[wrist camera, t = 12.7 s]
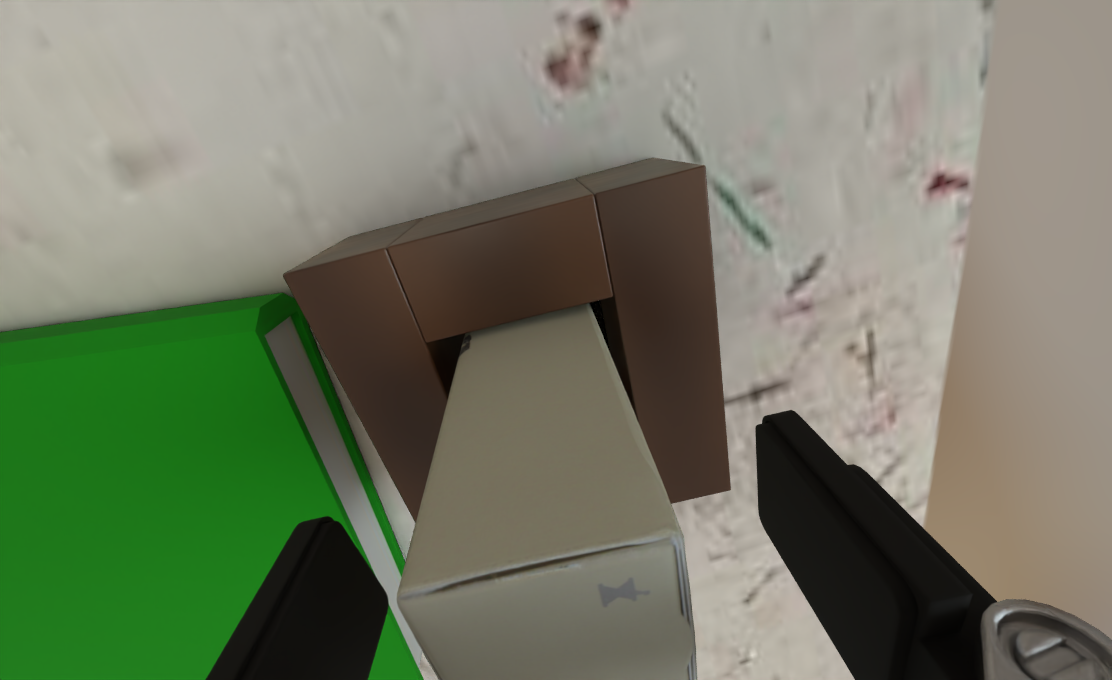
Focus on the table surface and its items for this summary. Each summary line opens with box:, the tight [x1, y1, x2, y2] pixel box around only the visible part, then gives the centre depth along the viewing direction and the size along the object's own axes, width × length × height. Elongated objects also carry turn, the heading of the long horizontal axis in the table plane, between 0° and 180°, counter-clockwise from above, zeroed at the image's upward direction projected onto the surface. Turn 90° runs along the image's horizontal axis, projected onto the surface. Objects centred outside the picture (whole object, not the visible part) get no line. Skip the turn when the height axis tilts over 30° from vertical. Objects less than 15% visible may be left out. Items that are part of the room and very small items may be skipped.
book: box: [0, 293, 424, 680], centre depth 20 cm, size 22×28×3 cm
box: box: [397, 303, 697, 680], centre depth 13 cm, size 5×4×13 cm
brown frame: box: [283, 158, 731, 523], centre depth 16 cm, size 12×12×5 cm
